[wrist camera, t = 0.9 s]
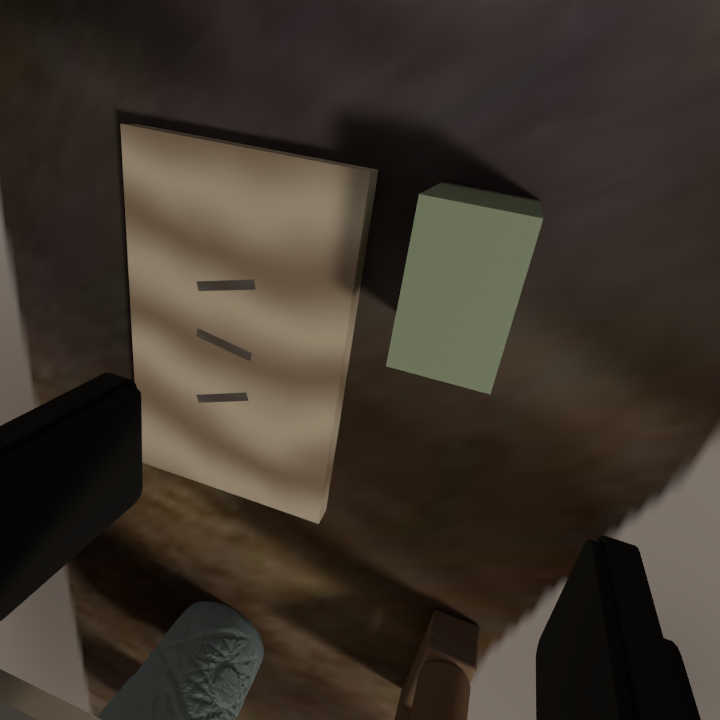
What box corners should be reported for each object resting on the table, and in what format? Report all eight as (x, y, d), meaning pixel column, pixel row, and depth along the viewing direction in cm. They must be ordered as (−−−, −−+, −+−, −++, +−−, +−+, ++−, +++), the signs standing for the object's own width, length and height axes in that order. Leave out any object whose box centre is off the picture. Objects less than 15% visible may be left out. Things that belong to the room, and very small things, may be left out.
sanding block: (443, 181, 27) (419, 194, 21) (540, 200, 26) (543, 218, 20) (413, 322, 30) (386, 366, 24) (498, 343, 29) (490, 394, 23)
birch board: (138, 124, 30) (120, 123, 29) (378, 169, 27) (370, 171, 26) (151, 450, 41) (138, 461, 39) (325, 510, 38) (318, 524, 36)
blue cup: (280, 626, 45) (203, 777, 34) (262, 691, 49) (189, 841, 39) (180, 578, 46) (77, 708, 36) (172, 645, 51) (78, 777, 40)
